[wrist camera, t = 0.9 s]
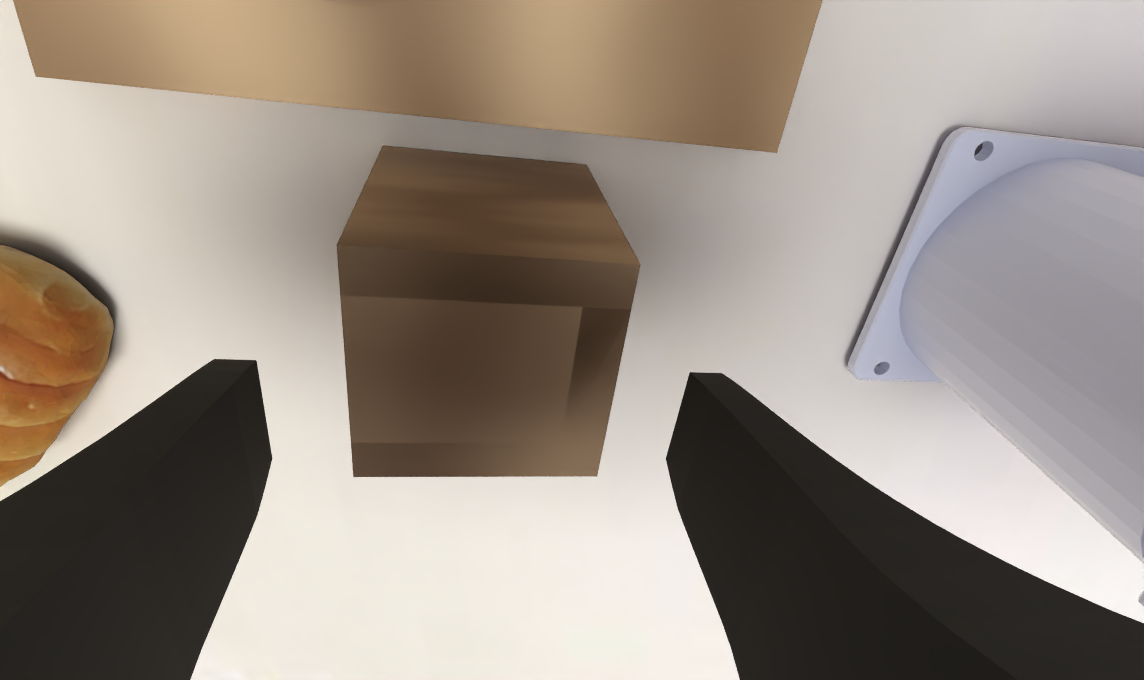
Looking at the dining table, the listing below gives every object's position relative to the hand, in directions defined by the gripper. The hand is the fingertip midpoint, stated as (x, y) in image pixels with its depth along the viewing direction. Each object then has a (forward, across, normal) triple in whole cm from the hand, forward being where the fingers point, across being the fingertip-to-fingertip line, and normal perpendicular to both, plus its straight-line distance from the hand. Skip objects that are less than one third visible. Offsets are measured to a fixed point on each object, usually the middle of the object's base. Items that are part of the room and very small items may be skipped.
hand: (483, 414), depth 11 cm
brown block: (+7, 0, 0) cm, 7 cm away
